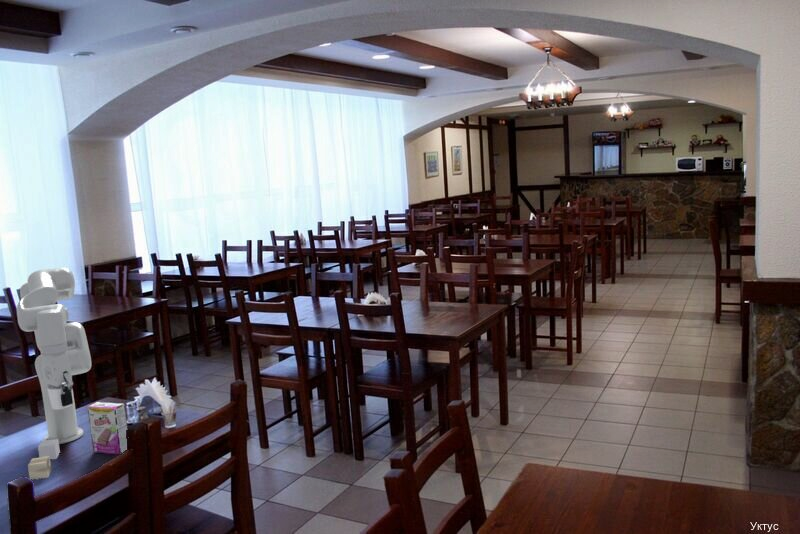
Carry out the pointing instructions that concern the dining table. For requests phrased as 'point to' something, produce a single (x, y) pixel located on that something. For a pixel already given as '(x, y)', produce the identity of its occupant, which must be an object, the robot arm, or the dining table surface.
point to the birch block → (39, 467)
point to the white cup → (56, 397)
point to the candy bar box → (108, 427)
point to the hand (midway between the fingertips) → (61, 402)
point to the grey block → (49, 449)
